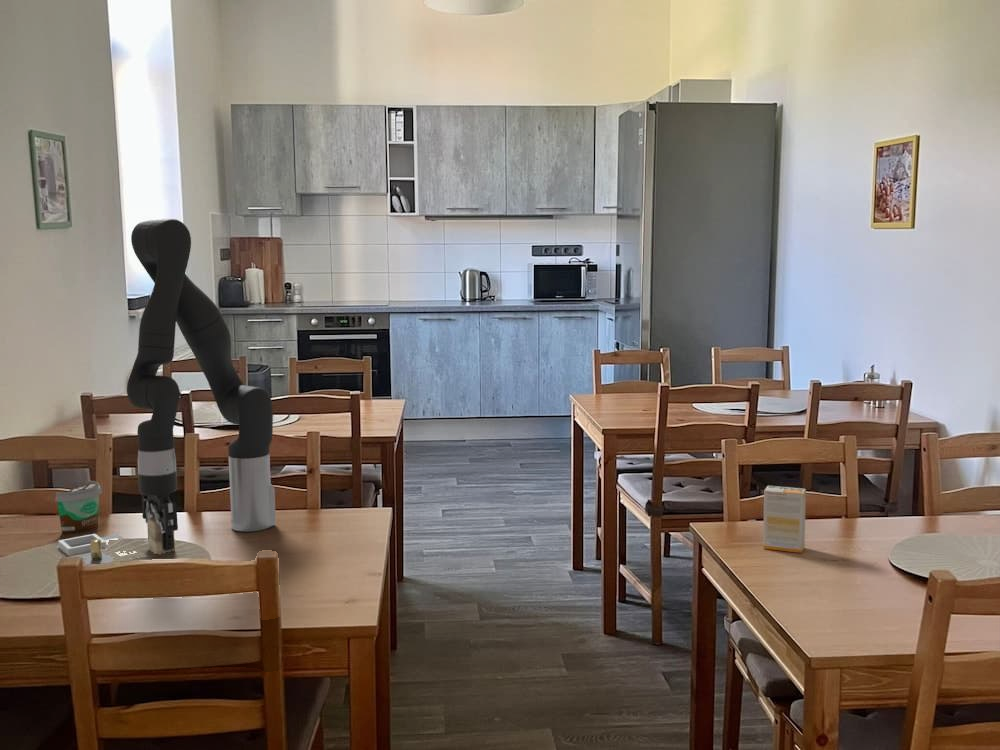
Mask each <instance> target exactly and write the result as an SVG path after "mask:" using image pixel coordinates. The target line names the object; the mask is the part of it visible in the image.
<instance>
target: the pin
mask: <svg viewBox="0 0 1000 750" xmlns="http://www.w3.org/2000/svg"><path fill="white" fill-rule="evenodd" d="M90 545H91V560H92V561H99V560H102V550H101V540H100V539H95V540H91V541H90Z"/></svg>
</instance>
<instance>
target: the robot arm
mask: <svg viewBox="0 0 1000 750" xmlns="http://www.w3.org/2000/svg"><path fill="white" fill-rule="evenodd" d="M130 237H131V238H130V240H131V242H130V243H131V246H132V247H131V248H132V250H133V252H134V254H135V256H136V258H137V259H138V261H139V263H140V264H141V266H142V267H143V268H144V270H145V271H146V273H147V274H148V275H149V277H150V278H151V280H152V281H153V283H154V285H153V288H152V291H151V294H150V297H149V299H148V301H147V302H146V305H145V307H144V310H143V312H142V314H141V318H140V321H139V322H140V323H139V329H138V347H137V354H136V358H135V359H134V363H133V366H132V369H131V372H130V374H129V378H128V380H127V381H128V382H127V383H126V395H127V399H128V401H129V402H130V404H131V405H132V406H133V407H135V408H137V409H144V410H152V415H151V417H150V419H148V420H144V421H142V422H140V423H139V424H138V425H137V448H138V451H137V475H138V476H137V477H138V492H139V494H141V504H142V505H141V506H142V507H141V508H142V512H141V513H142V519H144V520H145V523H146V525H147V526H146V527H148V518H153V517H155V519H156V523H157V524H159V525H160V528H161V532H162V549H163V550H165V551H166V550H171V549H173V548H174V540H175V536H174V537H173V531H174V532H175V531H178V530H179V525H178V511H177V503H176V501H171V500H170V494H172V493H174V492H176V491H177V489H178V482H177V481H178V479H177V478H178V477H177V476H178V475H177V458H176V453H175V452H176V451H175V444H174V443H175V442H174V426H175V423H176V417H177V413H178V409H179V404H180V399H181V392H180V391H181V390H180V388H179V385H178V382H176V380H175V379H174V378H172V377H171V376H168V375H157V372H158V370H159V368H160V367H161V366H163V365H166V364H170V363H171V362H172V361H173V359H174V355H175V354H174V353H175V341H176V340H175V339H176V326H177V327H178V328H179V330H180V332H181V334H182V336H183V337H184V340H185V341H186V343H187V345H188V347H189V349H190V350H191V352H192V353H193V356H194V357H195V359H196V361H197V364H198V365H199V367H200V369H201V371H202V372H203V375H204V376H205V378H206V380H207V383H208V386H209V387H210V390H211V393H212V395H213V397H214V401H215V404H216V405H217V408H218V410H219V413H220V415H222V418H223V419H225V421H227V422H228V423H230V424H232V425H233V424H234V425H237V426H238V436H237V439H236V440H235V439H234V440H233V441H230V443H229V444H228V446H227V451H228V471H229V474H228V475H229V477H228V478H229V495H230V496H229V497H230V516H231V517H230V523H231V529H232V530H234V531H236V532H247V533H248V532H259V531H263V530H267V529H269V528H271V527H272V526H273V527H274V526H276V523H277V522H276V521H277V520H276V497H275V493H276V492H275V486H274V485H273V484H272V483H271V481H272V480H271V459H270V455H271V454H270V447H271V444H272V441H273V427H274V426H273V425H274V424H273V422H274V419H273V418H274V411H273V410H274V408H273V401H272V398H271V395H270V393H269V392H268V391H267V390H266V389H264V388H262V387H259V386H254V385H253V386H252V385H245V383H244V382H243V381H242V379H241V378H240V376H239V374H238V373H237V371H236V369H235V367H234V365H233V362H232V355H231V353H232V341H231V340H232V339H231V333H230V330H229V328H228V325H227V324H226V321H225V320H224V317H223V315H222V313H221V312H220V310H219V308H218V307H217V305H216V304H215V303H214V301H213V300H212V299H211V298H210V297H209V296H208V295H207V294H206V293H205V292H203V290H202V289H200V287H198V286H197V285H196V284H195V283H194V282H193V281H192V280H191V279H190V278H189V276H188V275H187V274H186V271H187V267H188V263H189V260H190V259H189V258H190V255H191V250H192V249H191V247H192V237H191V233H190V231H189V228H188V227H187V226H186V224H184V223H183V222H182V221H180V220H179V219H176V218H162V219H150V220H144V221H140V222H139V223H137V224H136V225H135V226H134V228H133V230H132V231H131V236H130ZM168 523H169V525H170V526H168ZM147 540H148V541H149V534H148V533H147Z"/></svg>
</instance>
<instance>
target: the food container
mask: <svg viewBox="0 0 1000 750" xmlns="http://www.w3.org/2000/svg"><path fill="white" fill-rule="evenodd" d="M102 492H103V491H102V488H101V485H100V484H99V482H98V481H94V480H87V484H85V485H83V486H80V487H79V486H78V487H73V488H72V489H69V490H68V491H66V492H65V491H64V492H63V491H62V492H60V491H57V492H55V502H57V509H58V515H59V521H60V522H59V523H60V529H61V534H63V535H70V534H82V533H86V532H90V531H92V530H95V529H97V528H98V527H99V504H100V503H99V500H100V499H99V497H100V495H101V494H102Z"/></svg>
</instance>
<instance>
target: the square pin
mask: <svg viewBox="0 0 1000 750" xmlns="http://www.w3.org/2000/svg"><path fill="white" fill-rule="evenodd" d="M147 524H148V526H147V535H148V534H149V540H148V546H149V548H148V550H149V549H150V550H151V551H152V552H153V553H152V552H151V551H150V550H149V551H150V552H151V553H152V554H154V555H155V554H159V555H162V554H161V553H163V554H167V553H166V552H168V553H172V552H171V551H173V552H175V551H176V544H175V539H174V548H173V549H171V550H166V551H165V550H163V549H162V532H161V528H160V525H159V524H157V523H156V519H155V517H153V518H148V523H147ZM168 526H170V525H169V523H168ZM173 537H174V538H175V531H173Z"/></svg>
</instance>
